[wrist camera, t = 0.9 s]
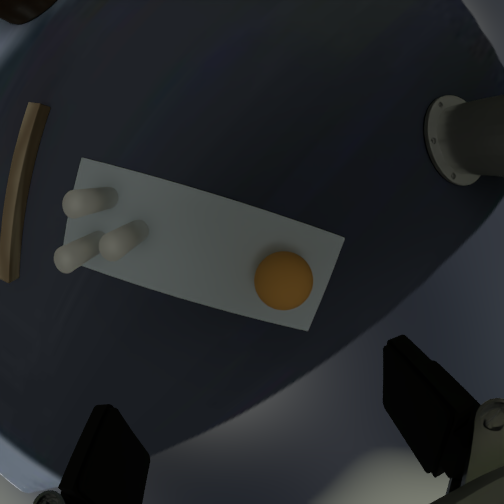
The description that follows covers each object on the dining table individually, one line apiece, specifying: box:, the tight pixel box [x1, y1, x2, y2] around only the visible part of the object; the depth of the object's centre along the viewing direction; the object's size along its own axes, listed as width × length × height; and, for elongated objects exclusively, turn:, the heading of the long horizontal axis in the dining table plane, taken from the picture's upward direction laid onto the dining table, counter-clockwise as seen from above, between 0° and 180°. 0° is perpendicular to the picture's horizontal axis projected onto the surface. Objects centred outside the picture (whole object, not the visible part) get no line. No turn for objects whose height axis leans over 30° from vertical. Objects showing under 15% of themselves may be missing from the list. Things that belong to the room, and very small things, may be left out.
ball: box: [254, 251, 313, 310], centre depth 30 cm, size 6×6×6 cm
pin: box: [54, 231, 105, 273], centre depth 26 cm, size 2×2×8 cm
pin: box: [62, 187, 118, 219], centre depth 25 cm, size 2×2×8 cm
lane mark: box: [63, 158, 345, 331], centre depth 32 cm, size 31×12×1 cm, turn 72°
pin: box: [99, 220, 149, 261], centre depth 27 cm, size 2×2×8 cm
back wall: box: [0, 102, 50, 283], centre depth 27 cm, size 2×22×2 cm, turn 162°
